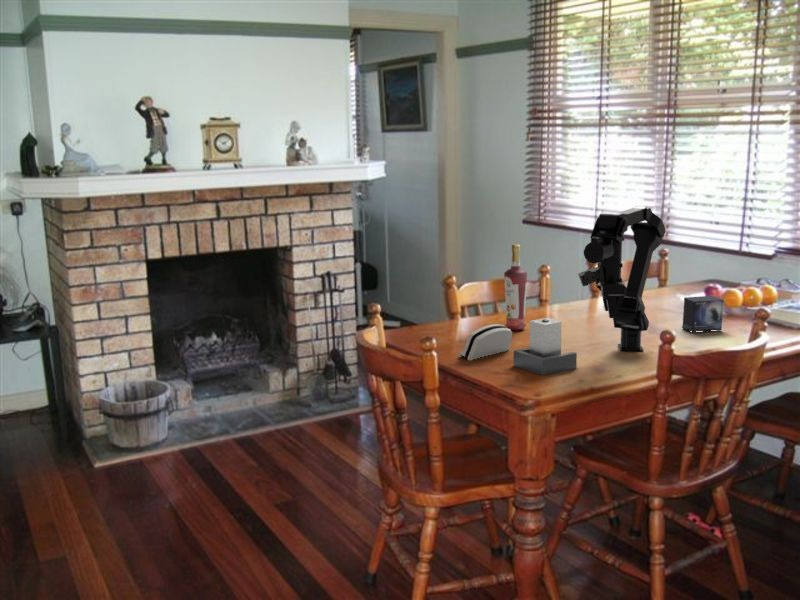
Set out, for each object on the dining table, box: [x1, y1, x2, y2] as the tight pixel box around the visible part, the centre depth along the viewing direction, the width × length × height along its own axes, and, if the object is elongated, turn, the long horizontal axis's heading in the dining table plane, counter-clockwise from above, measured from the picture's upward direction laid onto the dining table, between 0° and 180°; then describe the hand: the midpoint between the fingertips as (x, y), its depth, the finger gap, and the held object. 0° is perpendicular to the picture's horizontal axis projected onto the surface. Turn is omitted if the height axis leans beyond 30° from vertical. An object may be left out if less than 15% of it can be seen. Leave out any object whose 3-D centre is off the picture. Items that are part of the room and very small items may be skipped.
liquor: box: [503, 243, 528, 332], centre depth 262 cm, size 7×7×28 cm
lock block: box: [529, 317, 562, 358], centre depth 219 cm, size 6×6×12 cm
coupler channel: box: [513, 346, 578, 376], centre depth 220 cm, size 12×12×4 cm
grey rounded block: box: [458, 323, 513, 361], centre depth 234 cm, size 17×5×10 cm, turn 130°
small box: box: [681, 295, 724, 332], centre depth 256 cm, size 11×6×10 cm, turn 102°
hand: (609, 314), depth 224 cm, fingers open, 9 cm apart
